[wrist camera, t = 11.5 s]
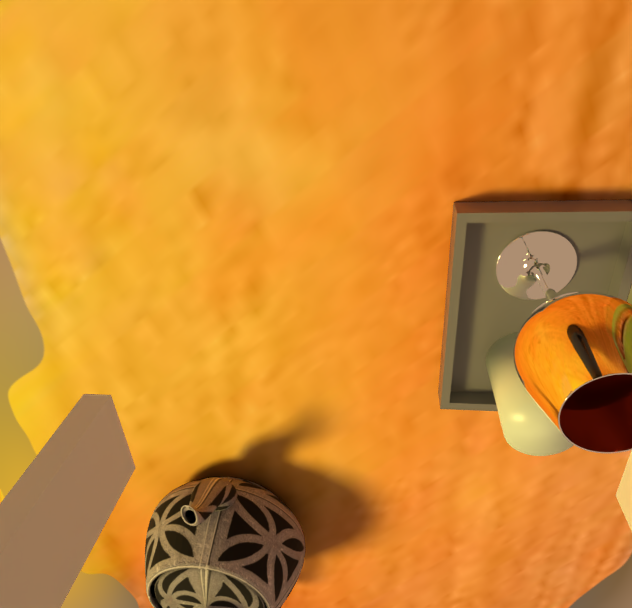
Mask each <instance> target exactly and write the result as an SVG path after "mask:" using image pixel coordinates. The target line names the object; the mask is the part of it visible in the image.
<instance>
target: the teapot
mask: <svg viewBox="0 0 632 608" xmlns="http://www.w3.org/2000/svg"><path fill="white" fill-rule="evenodd" d="M304 557H305V539H304V535H303V531H302V528H301V526H300V524H299V522H298V520H297V519H296V517H295V515H294V514H293V513H292V511H291V510H290V509H289V508H288V507H287V506H286V505H285V504H284V503H283V502H282V501H281V500H280V499H279V498H278V497H277V496H276V495H274V494H273V493H272V492H270V491H269V490H267V489H266V488H264V487H262V486H260V485H258V484H256V483H253V482H251V481H247V480H243V479H239V478H233V477H212V478H206V479H201V480H197V481H193V482H189V483H186V484H184V485H182V486H180V487H178V488H176V489H174V490H173V491H171V492H170V493H169V494H167V495H166V496H165V497H164V498H163V499H162V500H161V501H160V503H159V504H158V505H157V507H156V508H155V510H154V512H153V515H152V517H151V520H150V523H149V527H148V531H147V537H146V547H145V574H146V591H147V595H148V598H149V600H150V602H151V604H152V606H153V607H154V608H281V606H282V605H283V603H284V602H285V600H286V599H287V597H288V596H289V594H290V592H291V591H292V589H293V587H294V585H295V583H296V581H297V579H298V577H299V574H300V572H301V569H302V566H303V562H304Z"/></svg>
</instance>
